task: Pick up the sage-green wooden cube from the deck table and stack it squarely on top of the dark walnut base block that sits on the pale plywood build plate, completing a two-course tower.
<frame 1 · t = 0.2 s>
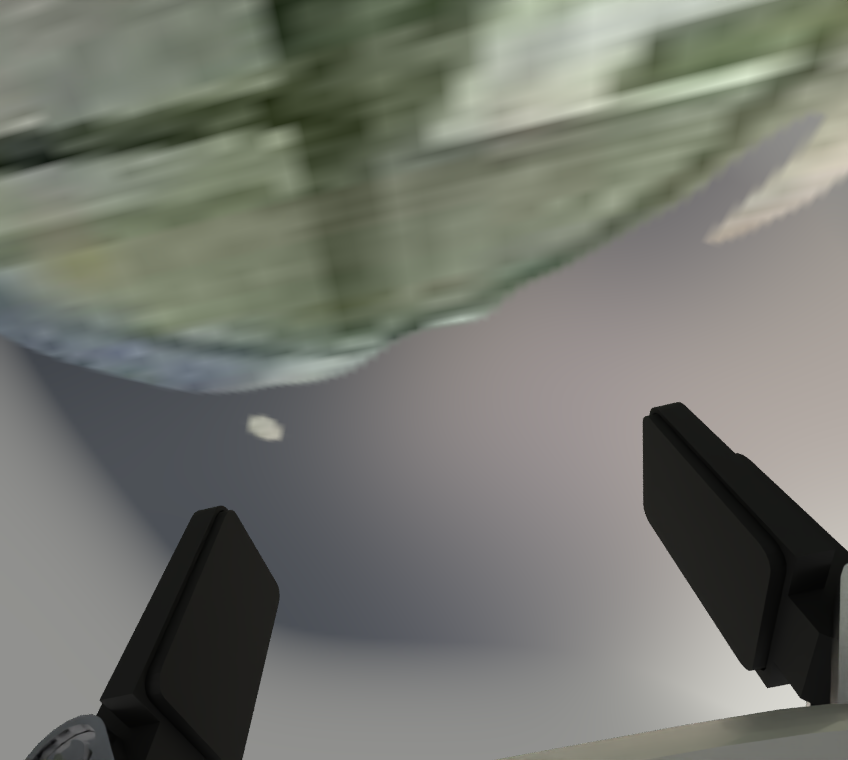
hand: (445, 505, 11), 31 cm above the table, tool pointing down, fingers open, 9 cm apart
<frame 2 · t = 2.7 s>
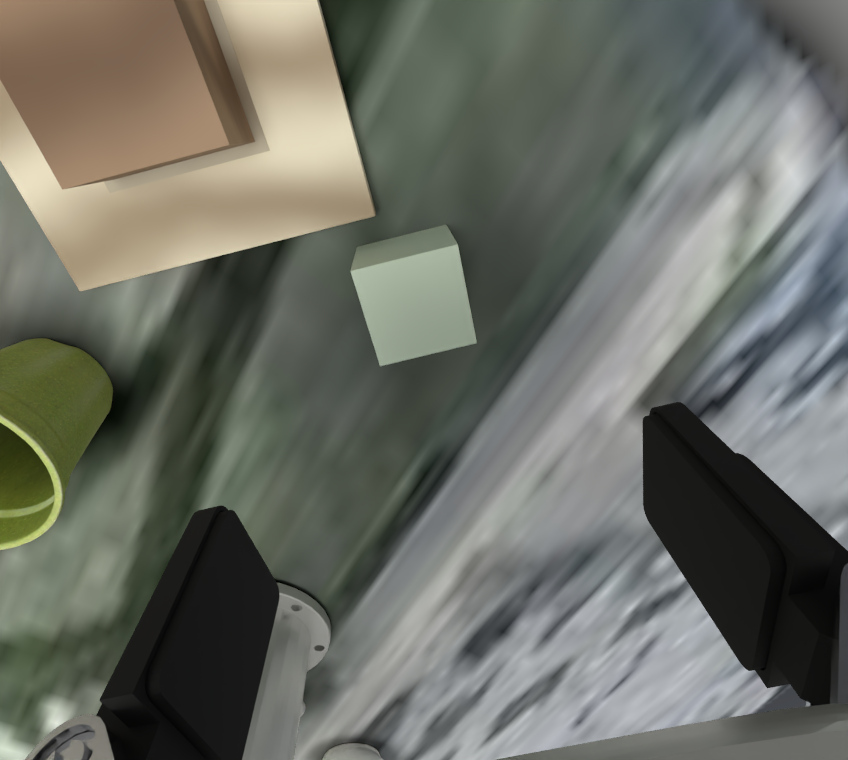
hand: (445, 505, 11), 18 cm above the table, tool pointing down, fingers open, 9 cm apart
lidded jar: (352, 754, 52), on the table
walnut base block: (146, 74, 20), point 1 cm above the table, touching build plate
plant pot: (63, 381, 29), on the table
build plate: (158, 77, 22), on the table
sage cube: (412, 279, 27), on the table
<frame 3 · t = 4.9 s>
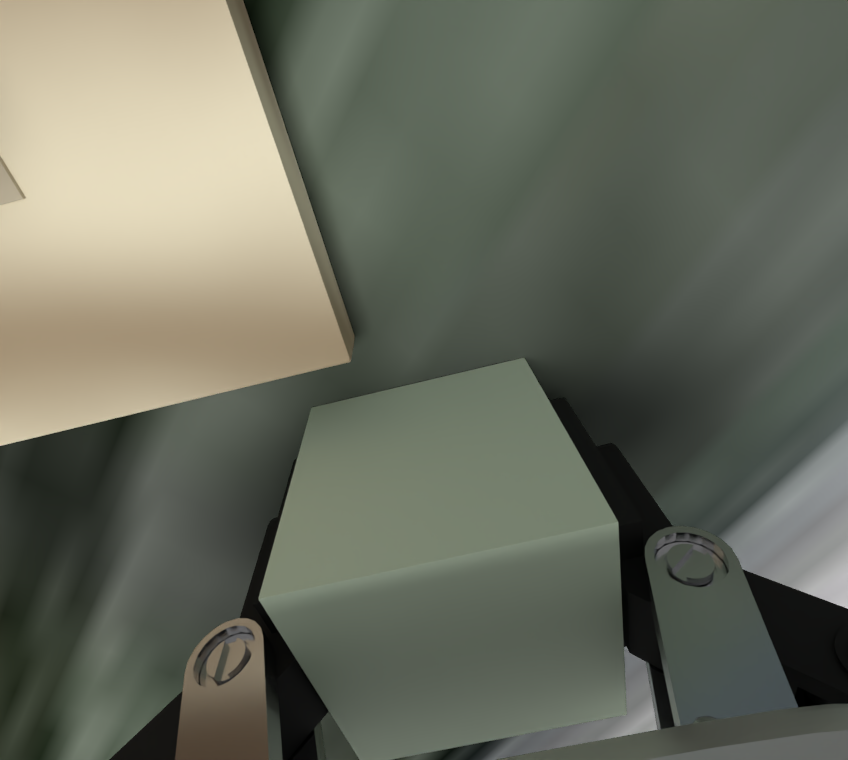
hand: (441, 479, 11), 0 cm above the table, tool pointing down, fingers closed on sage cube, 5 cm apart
sage cube: (439, 466, 12), on the table, touching gripper
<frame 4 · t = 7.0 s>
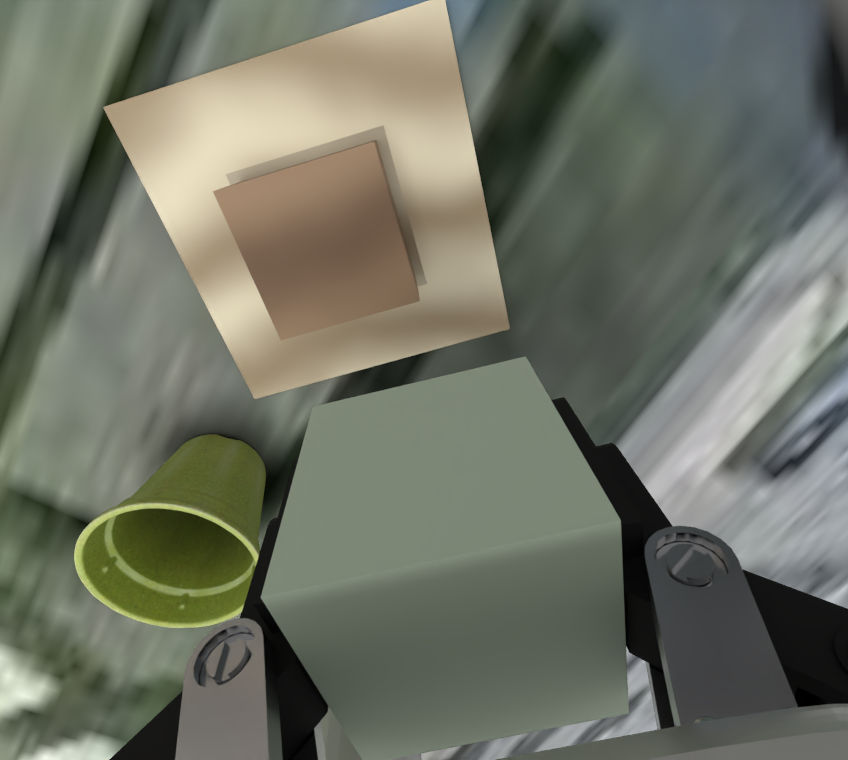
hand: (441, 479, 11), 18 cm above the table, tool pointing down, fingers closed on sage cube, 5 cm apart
walnut base block: (332, 232, 24), point 1 cm above the table, touching build plate
plant pot: (223, 466, 33), on the table
build plate: (335, 228, 26), on the table
sage cube: (440, 465, 12), point 17 cm above the table, touching gripper
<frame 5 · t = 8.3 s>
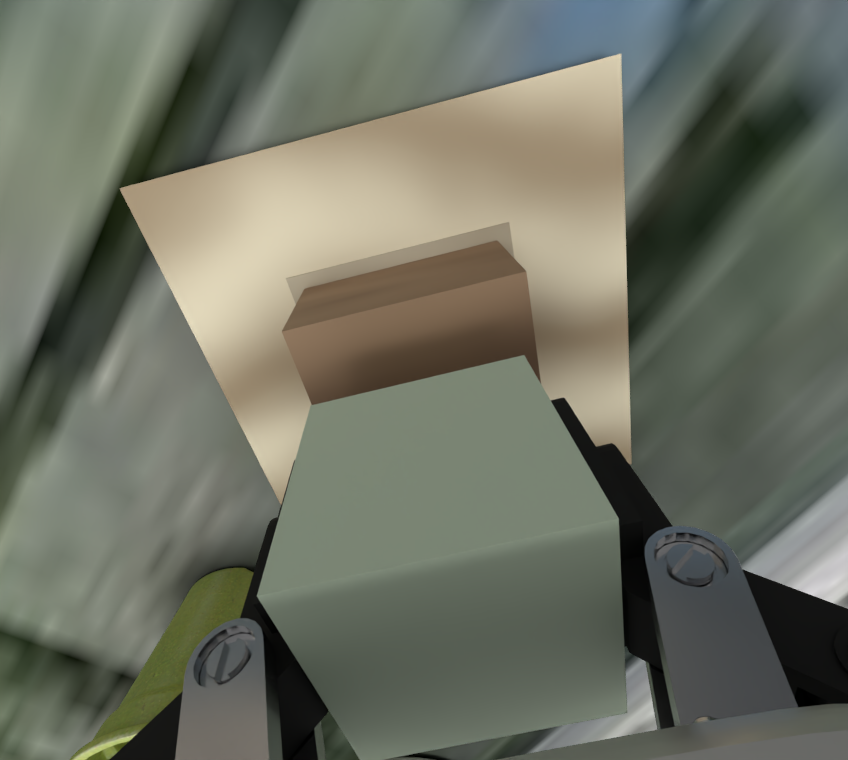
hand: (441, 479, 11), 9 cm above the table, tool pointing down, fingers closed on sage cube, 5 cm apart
walnut base block: (422, 352, 18), point 1 cm above the table, touching build plate
plant pot: (248, 599, 26), on the table
build plate: (420, 339, 19), on the table
sage cube: (439, 464, 12), point 8 cm above the table, touching gripper
when the fingers open (7 cm above the table, at t = 9.0 s): sage cube stays where it is, resting on walnut base block.
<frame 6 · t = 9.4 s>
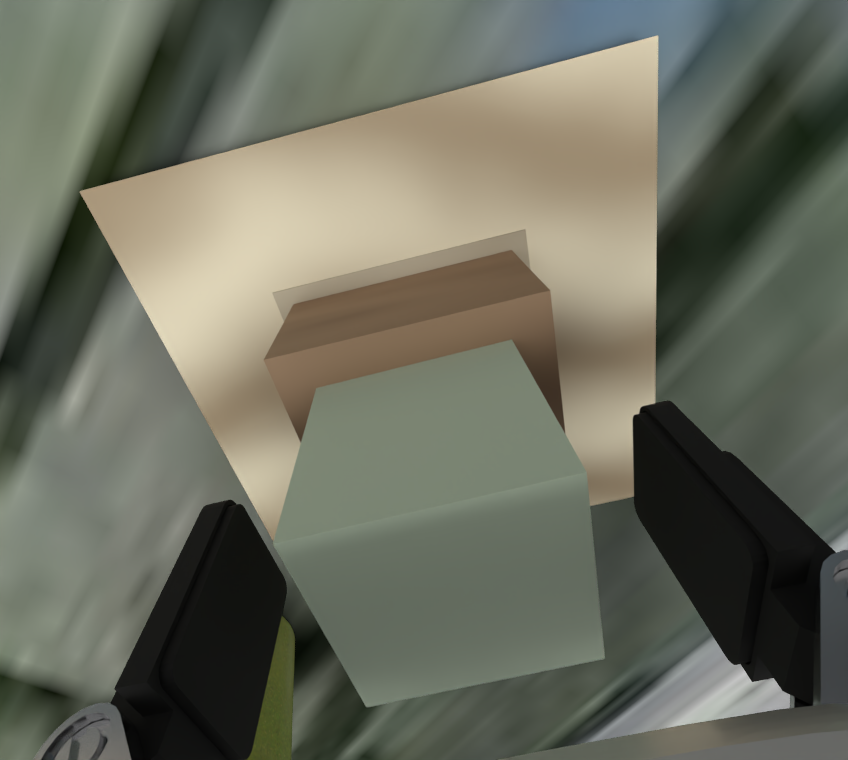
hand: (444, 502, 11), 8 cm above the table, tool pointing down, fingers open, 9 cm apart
walnut base block: (426, 373, 16), point 1 cm above the table, touching build plate, sage cube
plant pot: (238, 630, 25), on the table
build plate: (424, 357, 17), on the table
sage cube: (435, 443, 13), point 5 cm above the table, touching walnut base block
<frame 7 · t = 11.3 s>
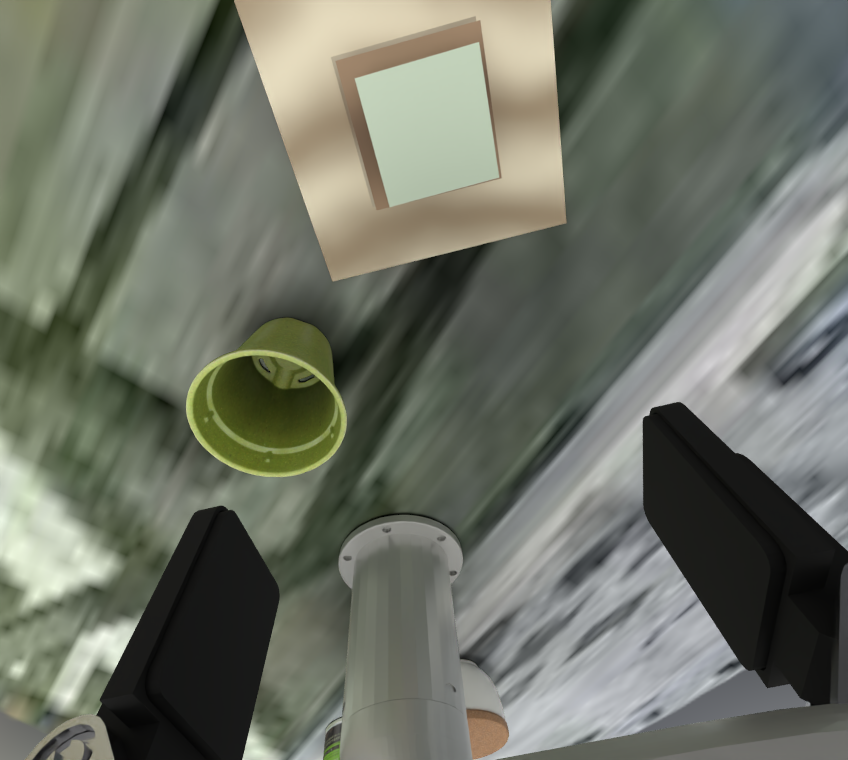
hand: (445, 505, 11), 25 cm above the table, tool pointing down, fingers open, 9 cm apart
lidded jar: (455, 669, 61), on the table
walnut base block: (419, 119, 27), point 1 cm above the table, touching build plate, sage cube
plant pot: (293, 351, 36), on the table
build plate: (418, 118, 28), on the table
coffee can: (361, 729, 68), on the table
sage cube: (423, 124, 24), point 5 cm above the table, touching walnut base block
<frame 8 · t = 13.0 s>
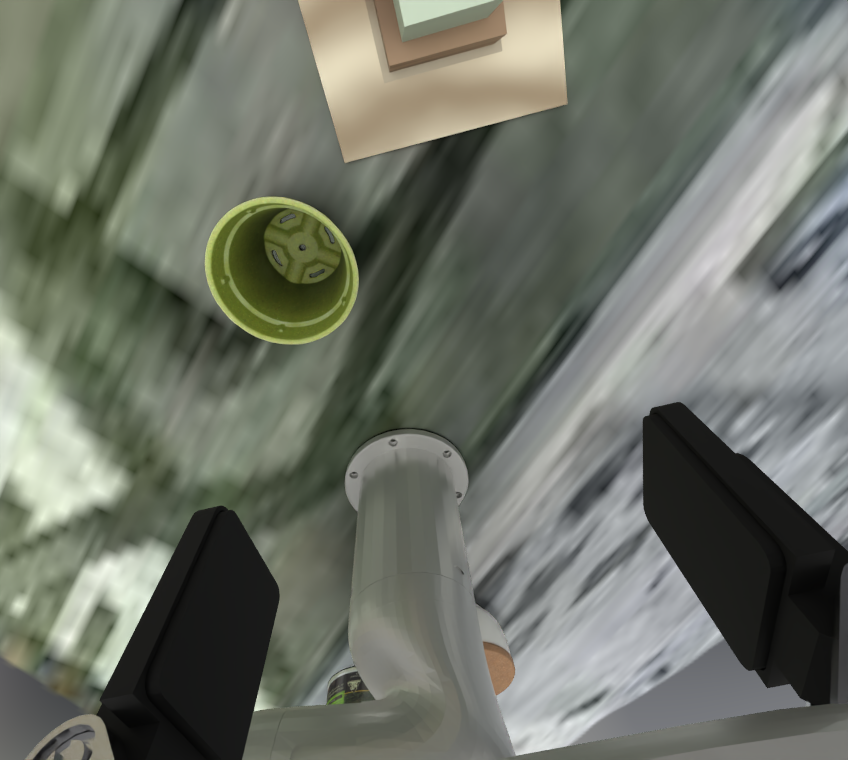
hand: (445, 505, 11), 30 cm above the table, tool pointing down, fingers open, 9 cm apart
lidded jar: (459, 614, 61), on the table
plant pot: (305, 244, 37), on the table
coffee can: (364, 684, 67), on the table
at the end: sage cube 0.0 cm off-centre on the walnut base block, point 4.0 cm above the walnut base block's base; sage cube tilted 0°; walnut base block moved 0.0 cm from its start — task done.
